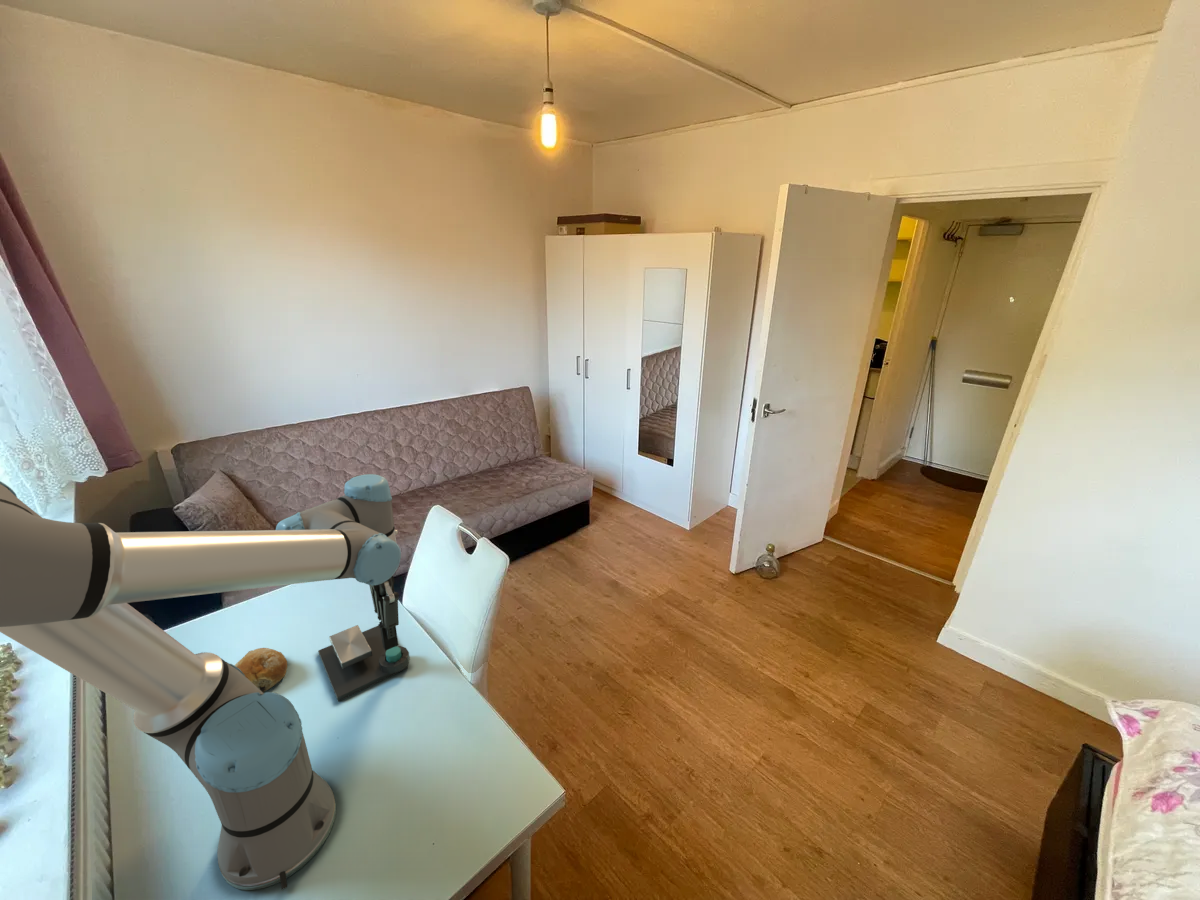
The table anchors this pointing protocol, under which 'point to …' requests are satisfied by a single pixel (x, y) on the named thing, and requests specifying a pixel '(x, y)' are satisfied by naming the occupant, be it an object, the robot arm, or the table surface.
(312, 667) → the table surface
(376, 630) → the scale
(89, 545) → the robot arm
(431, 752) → the table surface
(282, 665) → the bread roll
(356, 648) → the silver metal plate
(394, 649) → the tare button
